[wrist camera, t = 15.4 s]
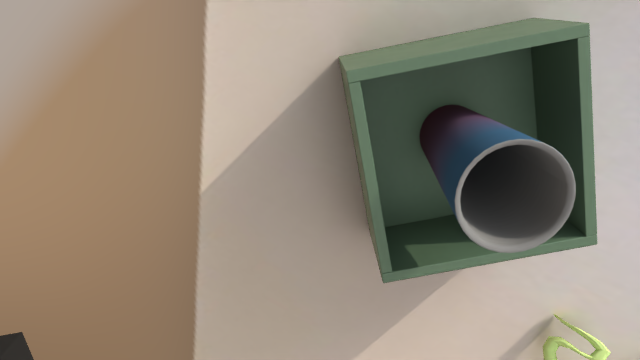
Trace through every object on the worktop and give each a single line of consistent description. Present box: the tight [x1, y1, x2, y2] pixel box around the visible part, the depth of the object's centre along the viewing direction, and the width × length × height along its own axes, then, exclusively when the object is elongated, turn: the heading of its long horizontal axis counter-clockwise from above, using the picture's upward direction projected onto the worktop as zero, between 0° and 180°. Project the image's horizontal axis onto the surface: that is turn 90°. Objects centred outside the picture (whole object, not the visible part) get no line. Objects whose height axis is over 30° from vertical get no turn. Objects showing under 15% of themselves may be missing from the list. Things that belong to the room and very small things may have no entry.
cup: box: [420, 105, 576, 253], centre depth 38 cm, size 7×7×15 cm
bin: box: [339, 18, 597, 283], centre depth 42 cm, size 16×16×9 cm
